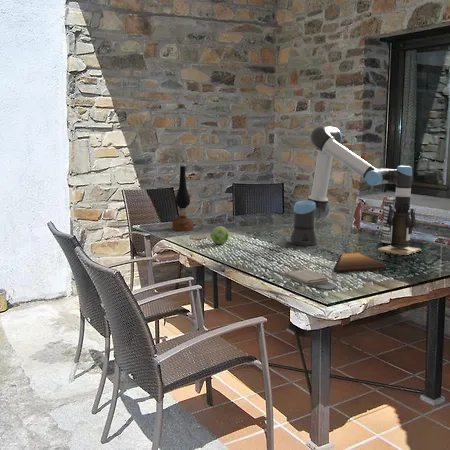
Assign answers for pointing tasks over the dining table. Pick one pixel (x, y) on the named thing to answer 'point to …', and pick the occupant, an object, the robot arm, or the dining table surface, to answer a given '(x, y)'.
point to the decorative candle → (386, 227)
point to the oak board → (398, 250)
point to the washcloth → (307, 277)
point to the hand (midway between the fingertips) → (400, 238)
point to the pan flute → (356, 263)
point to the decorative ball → (219, 235)
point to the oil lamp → (182, 205)
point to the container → (400, 230)
